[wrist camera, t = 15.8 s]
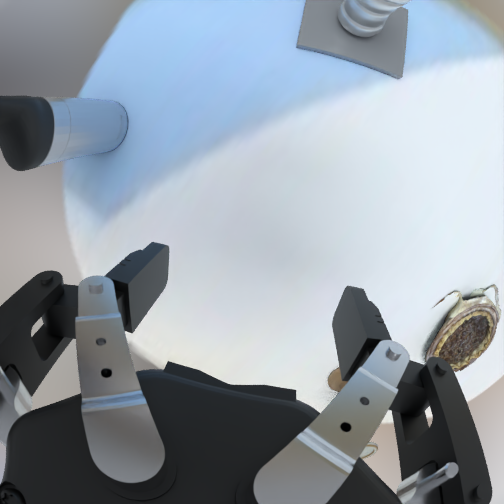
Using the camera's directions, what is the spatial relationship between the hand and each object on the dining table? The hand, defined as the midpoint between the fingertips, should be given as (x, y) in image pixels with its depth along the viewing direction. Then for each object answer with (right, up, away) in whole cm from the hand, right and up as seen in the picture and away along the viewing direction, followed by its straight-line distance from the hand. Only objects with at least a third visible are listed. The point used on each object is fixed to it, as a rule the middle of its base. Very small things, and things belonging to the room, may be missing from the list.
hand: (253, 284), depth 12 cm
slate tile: (+15, +35, +16) cm, 42 cm away
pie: (+47, -17, +35) cm, 61 cm away
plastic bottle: (+15, +35, +15) cm, 41 cm away
